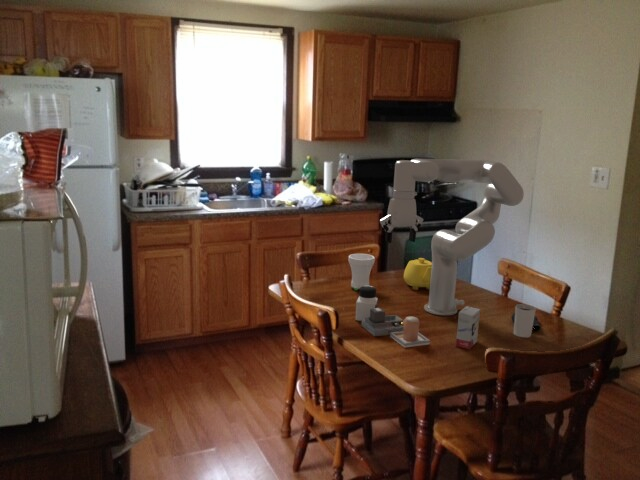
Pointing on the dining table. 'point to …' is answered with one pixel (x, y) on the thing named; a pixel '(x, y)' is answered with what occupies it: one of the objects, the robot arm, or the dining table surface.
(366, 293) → the medicine bottle
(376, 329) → the breaker panel
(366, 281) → the cup
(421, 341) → the pad
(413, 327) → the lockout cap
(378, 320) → the toggle
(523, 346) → the dining table surface
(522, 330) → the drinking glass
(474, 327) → the ink box
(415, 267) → the teapot
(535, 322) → the electronic device
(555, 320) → the dining table surface
